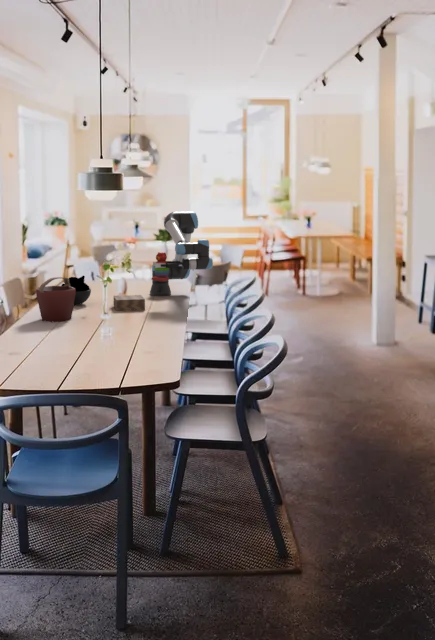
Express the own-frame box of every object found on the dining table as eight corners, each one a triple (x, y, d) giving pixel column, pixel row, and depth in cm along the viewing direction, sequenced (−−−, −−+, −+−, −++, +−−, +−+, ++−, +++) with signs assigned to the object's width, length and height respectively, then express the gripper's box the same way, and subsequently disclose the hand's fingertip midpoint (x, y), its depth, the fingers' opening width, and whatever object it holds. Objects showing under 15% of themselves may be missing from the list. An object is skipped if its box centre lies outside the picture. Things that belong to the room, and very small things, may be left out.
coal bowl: (63, 307, 508) (62, 278, 505) (58, 303, 527) (57, 275, 523) (94, 306, 516) (93, 277, 512) (87, 301, 534) (87, 273, 530)
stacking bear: (149, 279, 510) (149, 252, 506) (161, 278, 517) (161, 251, 514) (161, 281, 502) (161, 253, 499) (172, 280, 510) (172, 252, 507)
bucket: (64, 314, 484) (63, 274, 480) (85, 319, 469) (84, 277, 464) (29, 319, 468) (27, 277, 463) (49, 324, 452) (47, 281, 448)
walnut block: (141, 305, 519) (141, 294, 518) (145, 310, 502) (144, 299, 501) (113, 306, 515) (113, 295, 514) (116, 311, 498) (116, 300, 497)
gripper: (192, 271, 503) (157, 272, 498) (185, 267, 523) (151, 268, 518) (192, 259, 501) (156, 260, 496) (185, 256, 522) (151, 257, 517)
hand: (154, 264), depth 507 cm, fingers closed on stacking bear, 9 cm apart
